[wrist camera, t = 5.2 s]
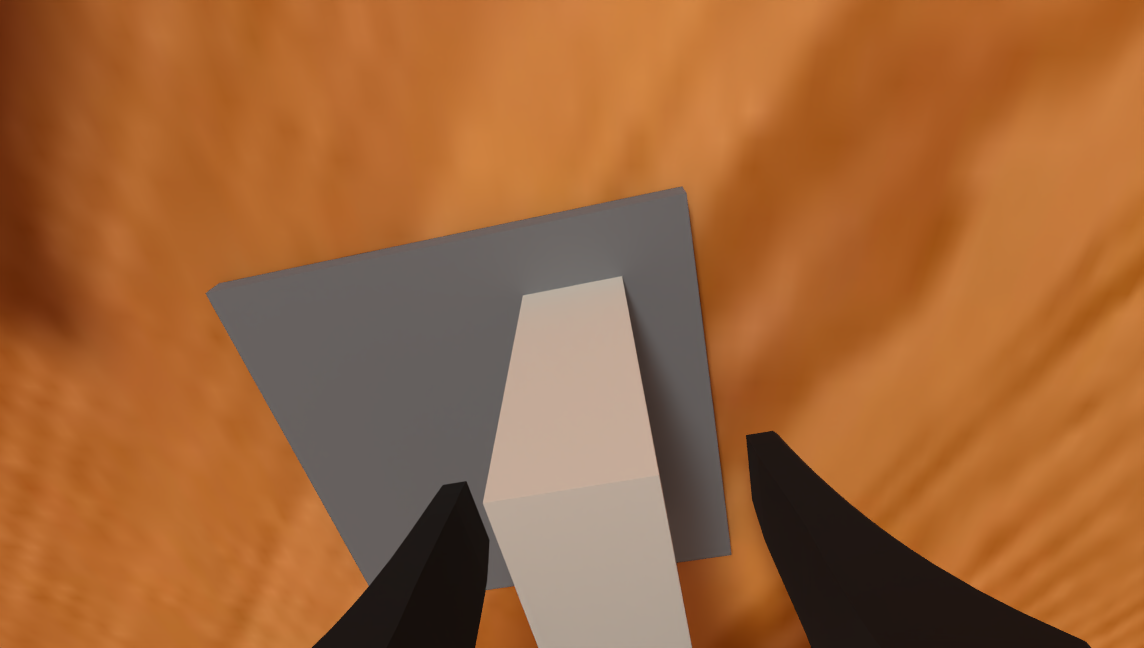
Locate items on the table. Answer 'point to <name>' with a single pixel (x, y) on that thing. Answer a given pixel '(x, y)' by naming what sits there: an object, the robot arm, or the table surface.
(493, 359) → the mat
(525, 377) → the block
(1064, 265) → the table surface
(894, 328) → the table surface
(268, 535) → the table surface
